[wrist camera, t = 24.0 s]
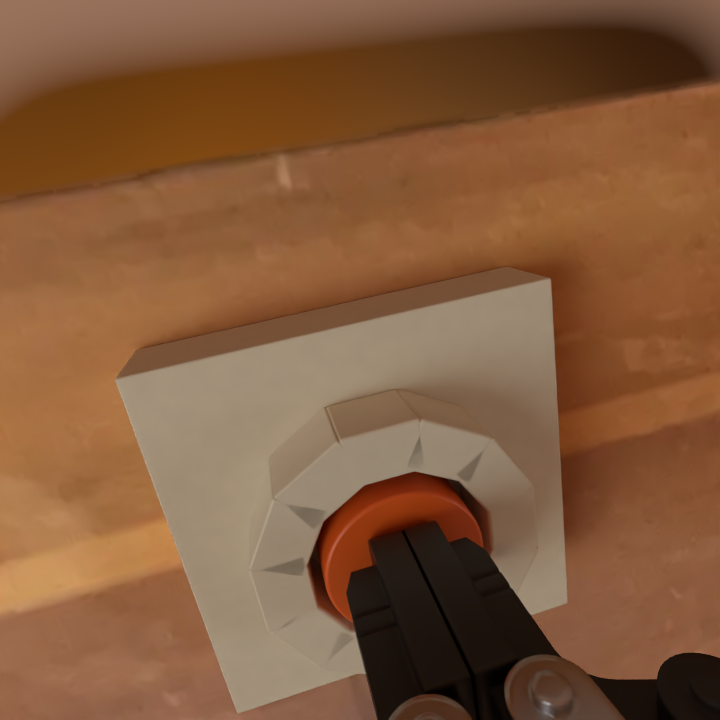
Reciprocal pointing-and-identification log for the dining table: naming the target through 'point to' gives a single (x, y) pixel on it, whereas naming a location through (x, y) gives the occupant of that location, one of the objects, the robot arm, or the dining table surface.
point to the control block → (348, 455)
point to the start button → (387, 524)
